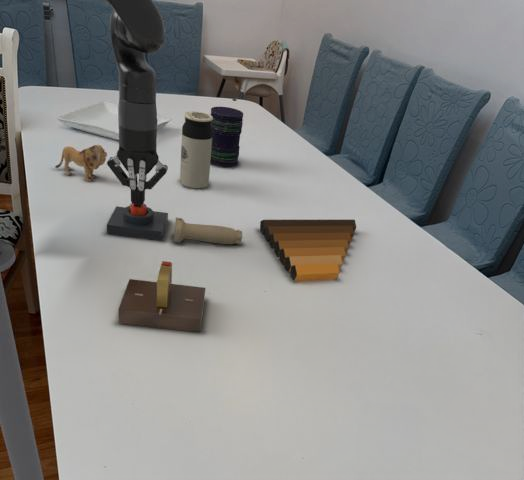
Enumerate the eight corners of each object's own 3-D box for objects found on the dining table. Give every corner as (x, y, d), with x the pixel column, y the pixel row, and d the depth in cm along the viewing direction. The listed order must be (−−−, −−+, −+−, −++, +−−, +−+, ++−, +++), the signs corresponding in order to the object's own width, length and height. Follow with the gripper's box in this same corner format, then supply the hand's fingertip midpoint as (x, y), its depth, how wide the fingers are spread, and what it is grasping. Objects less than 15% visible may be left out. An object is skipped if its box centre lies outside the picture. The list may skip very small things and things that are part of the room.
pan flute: (348, 228, 131) (259, 229, 123) (351, 216, 129) (261, 216, 120) (395, 278, 113) (295, 283, 105) (400, 265, 111) (298, 269, 103)
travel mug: (205, 178, 143) (210, 112, 132) (210, 189, 137) (216, 121, 126) (178, 177, 141) (180, 109, 130) (181, 188, 135) (185, 118, 124)
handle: (240, 253, 113) (174, 246, 110) (238, 240, 118) (174, 232, 114) (244, 234, 110) (176, 225, 107) (241, 221, 115) (176, 213, 111)
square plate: (103, 111, 179) (102, 99, 176) (172, 129, 175) (173, 117, 172) (56, 128, 158) (55, 115, 156) (133, 148, 154) (133, 135, 151)
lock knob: (167, 307, 86) (168, 279, 82) (156, 306, 86) (157, 278, 82) (171, 289, 91) (172, 261, 87) (161, 288, 90) (162, 260, 87)
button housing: (107, 234, 109) (106, 217, 107) (116, 215, 117) (115, 198, 115) (162, 240, 111) (162, 224, 108) (167, 221, 118) (168, 205, 116)
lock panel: (118, 324, 85) (118, 309, 83) (129, 292, 93) (129, 277, 91) (200, 332, 87) (201, 318, 85) (204, 300, 95) (205, 286, 93)
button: (128, 215, 110) (128, 207, 109) (131, 208, 113) (131, 201, 112) (145, 217, 110) (145, 209, 109) (147, 210, 113) (147, 203, 112)
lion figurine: (111, 178, 133) (109, 144, 128) (101, 185, 129) (99, 149, 124) (60, 166, 135) (56, 131, 129) (49, 172, 130) (45, 137, 125)
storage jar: (223, 170, 151) (230, 106, 140) (200, 159, 155) (204, 97, 144) (244, 164, 158) (251, 103, 146) (220, 154, 161) (226, 94, 150)
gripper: (99, 123, 96) (103, 207, 107) (168, 133, 98) (165, 216, 109) (108, 113, 102) (111, 194, 113) (172, 123, 104) (169, 202, 114)
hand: (138, 204), depth 111 cm, fingers closed
